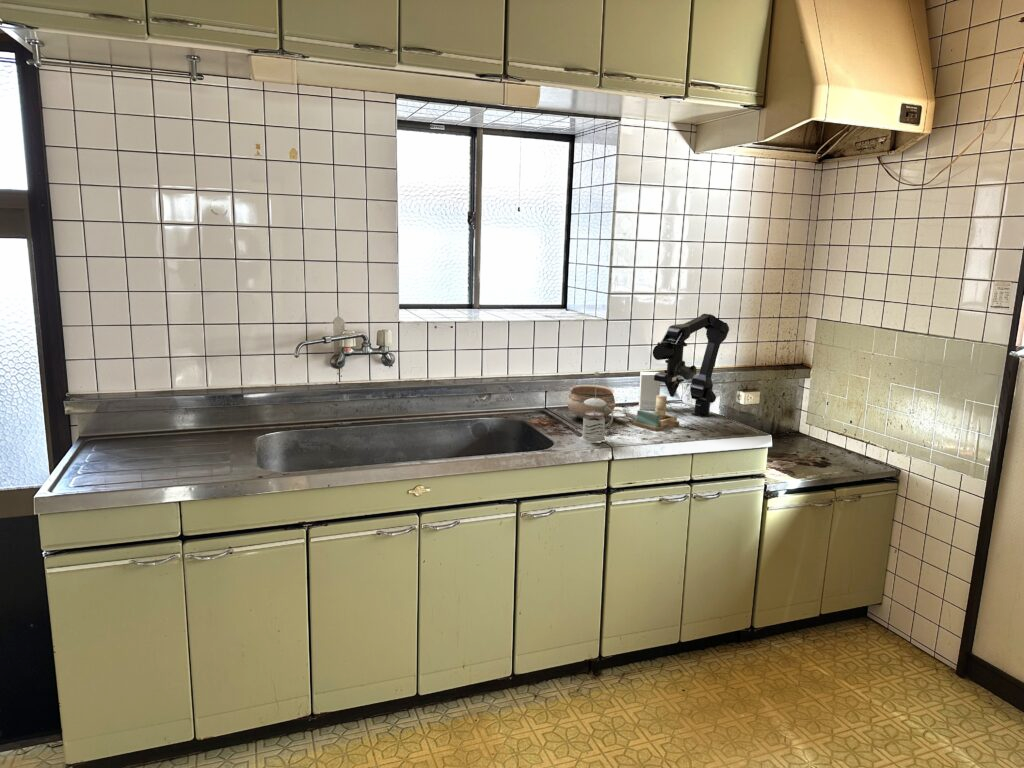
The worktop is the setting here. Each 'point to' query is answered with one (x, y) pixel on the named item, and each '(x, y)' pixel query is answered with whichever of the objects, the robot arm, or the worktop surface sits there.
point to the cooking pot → (587, 392)
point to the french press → (594, 434)
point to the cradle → (654, 421)
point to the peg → (661, 406)
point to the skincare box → (648, 391)
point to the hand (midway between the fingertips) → (672, 396)
